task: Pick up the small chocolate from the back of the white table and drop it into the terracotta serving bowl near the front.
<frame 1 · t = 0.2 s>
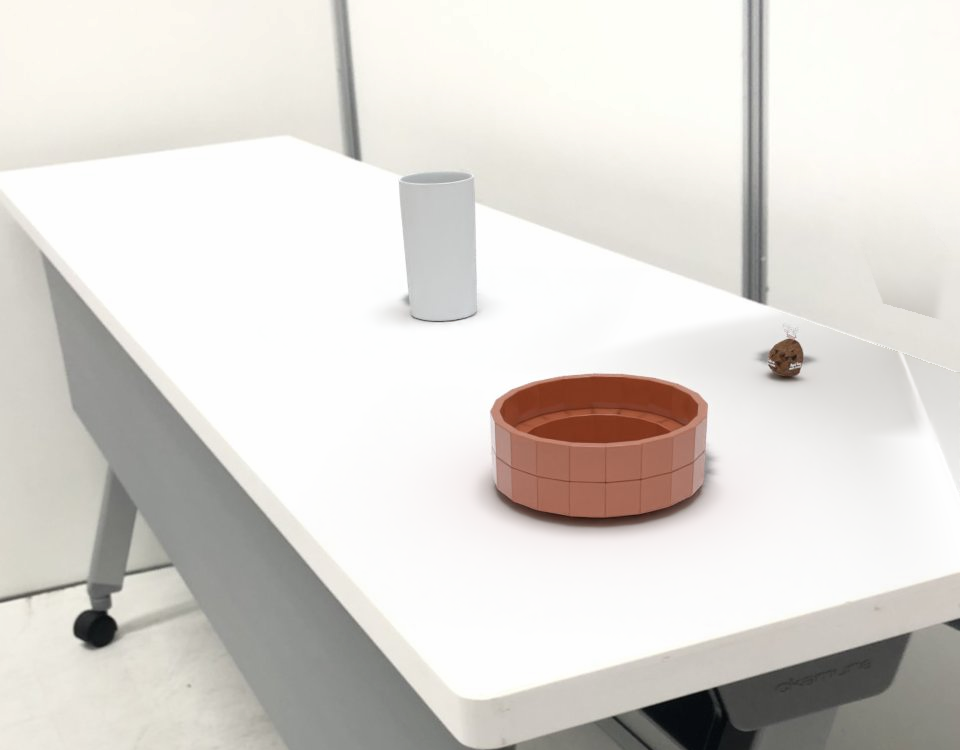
chocolate: (780, 378, 93), on the table
bowl: (597, 482, 77), on the table
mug: (449, 309, 115), on the table
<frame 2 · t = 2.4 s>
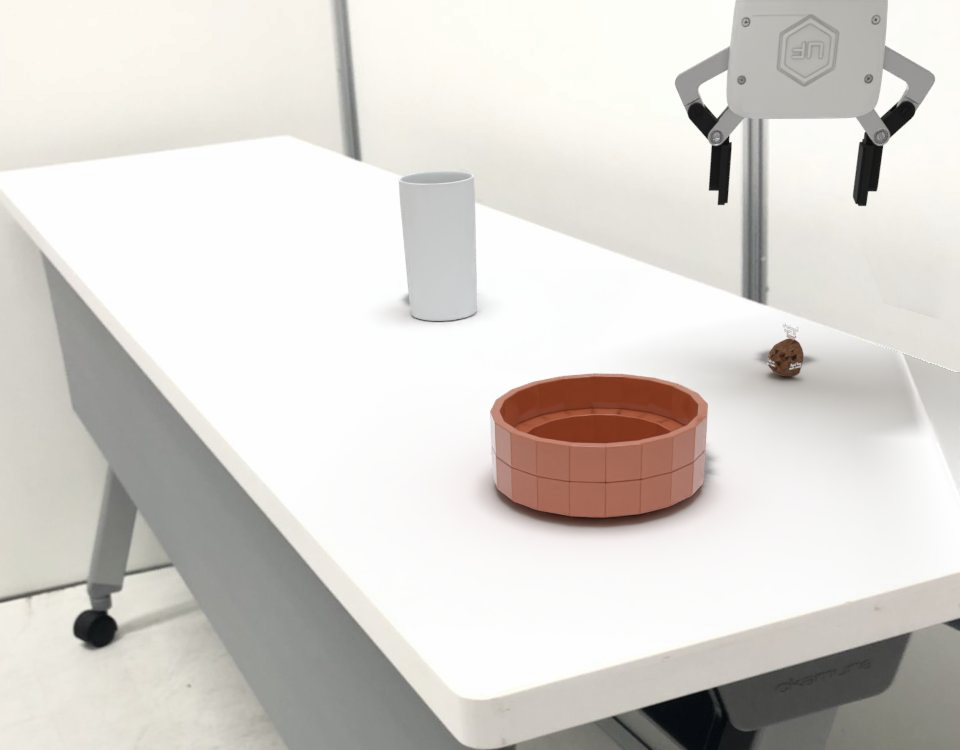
hand: (790, 201, 87), 13 cm above the table, tool pointing down, fingers open, 9 cm apart
nothing on the table moved.
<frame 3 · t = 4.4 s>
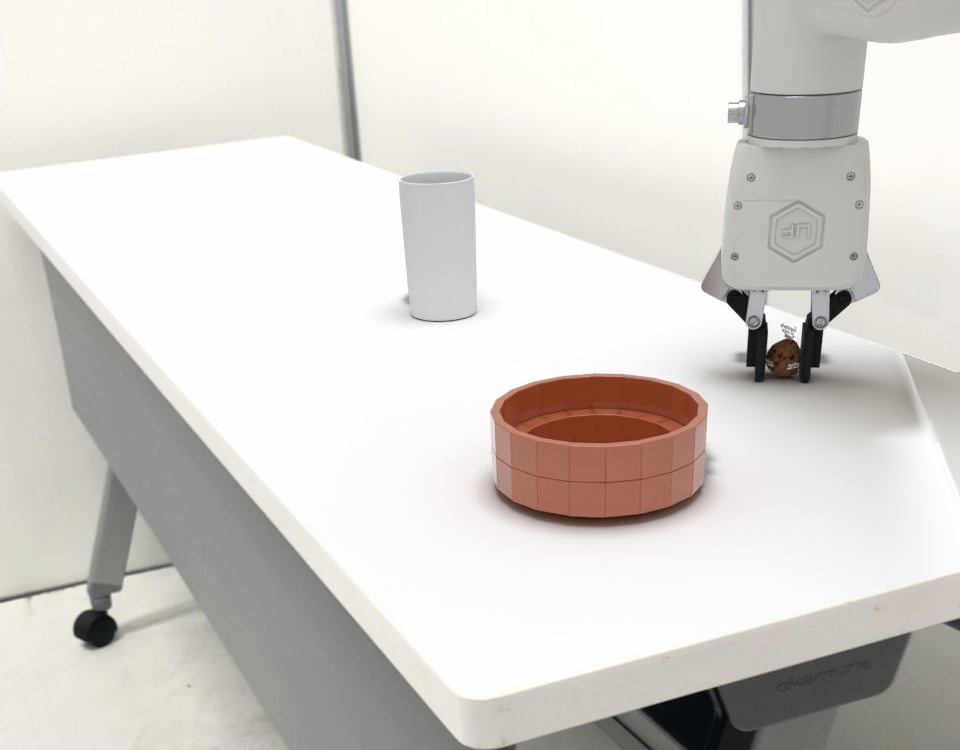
hand: (781, 374, 93), 0 cm above the table, tool pointing down, fingers closed on chocolate, 2 cm apart
chocolate: (778, 378, 93), on the table, touching gripper
everything else where it was.
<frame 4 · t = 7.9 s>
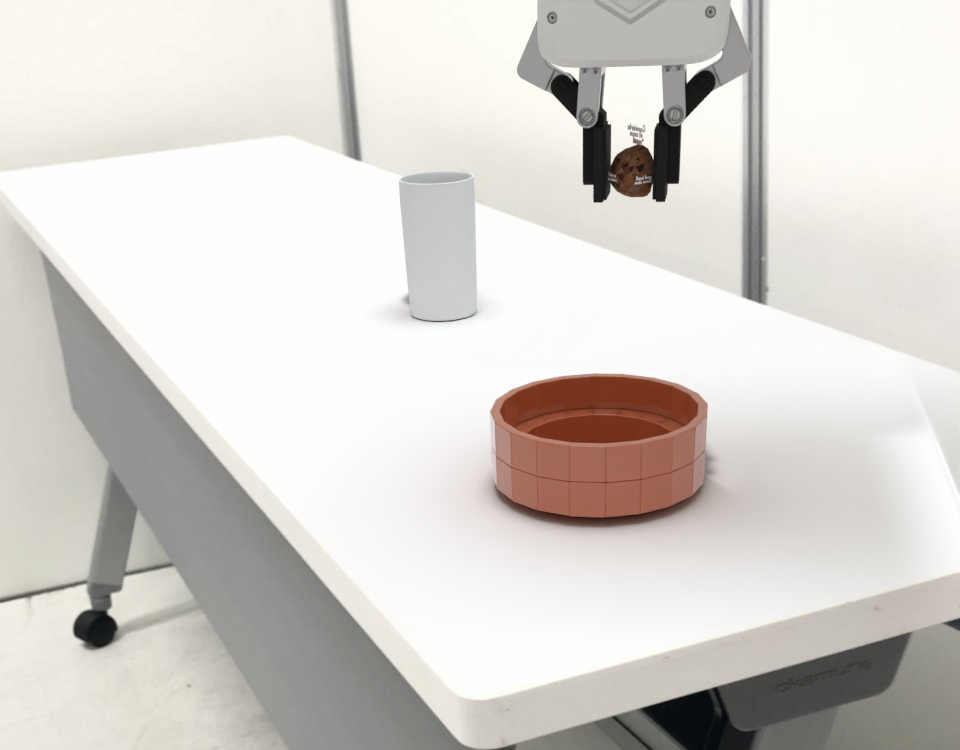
hand: (631, 195, 70), 17 cm above the table, tool pointing down, fingers closed on chocolate, 2 cm apart
chocolate: (627, 201, 71), point 17 cm above the table, touching gripper
everything else where it was.
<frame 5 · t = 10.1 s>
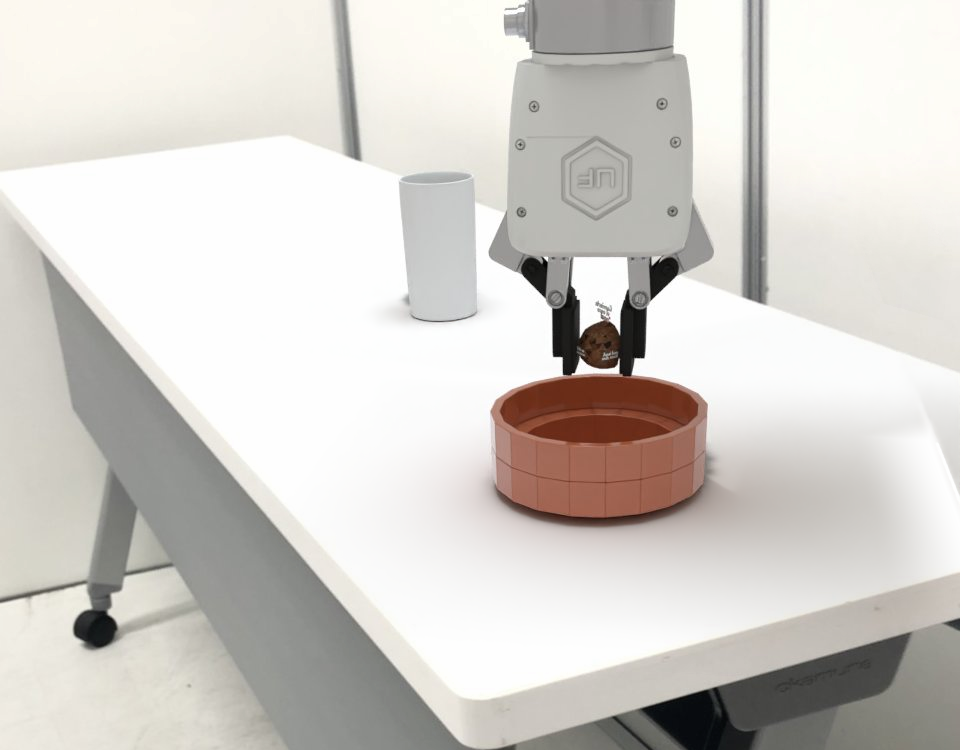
hand: (599, 366, 73), 8 cm above the table, tool pointing down, fingers closed on chocolate, 2 cm apart
chocolate: (595, 372, 73), point 7 cm above the table, touching gripper
everything else where it was.
when the fingers open (3 cm above the table, at t = 11.7 s): chocolate drops 2 cm, resting on bowl.
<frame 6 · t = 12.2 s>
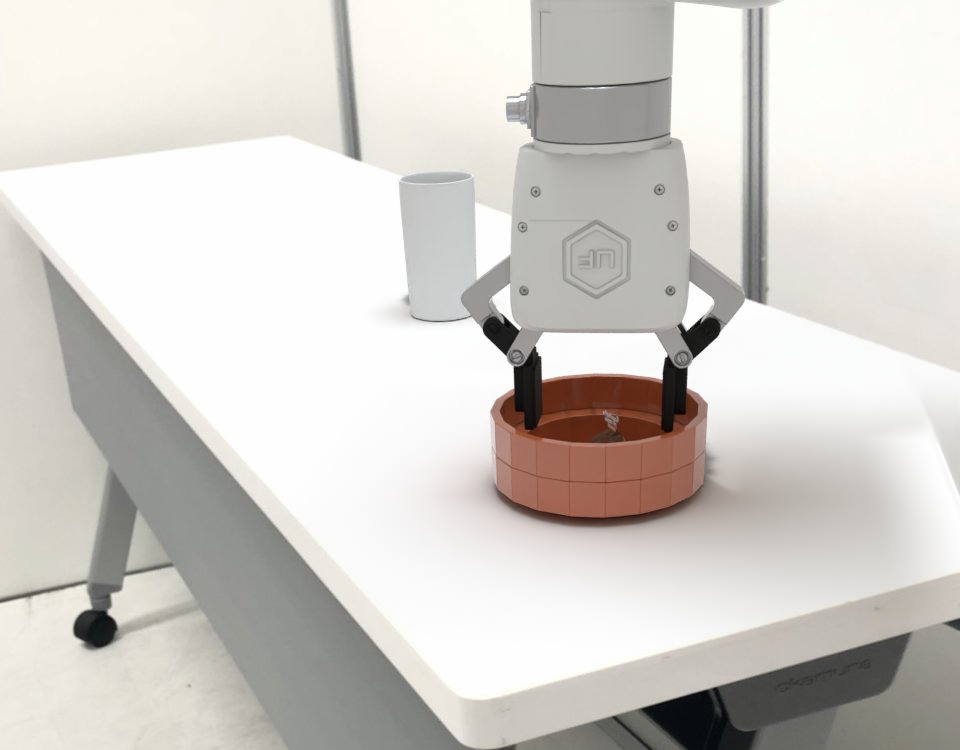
hand: (600, 422, 75), 4 cm above the table, tool pointing down, fingers open, 7 cm apart
chocolate: (602, 476, 77), resting on bowl
everything else where it was.
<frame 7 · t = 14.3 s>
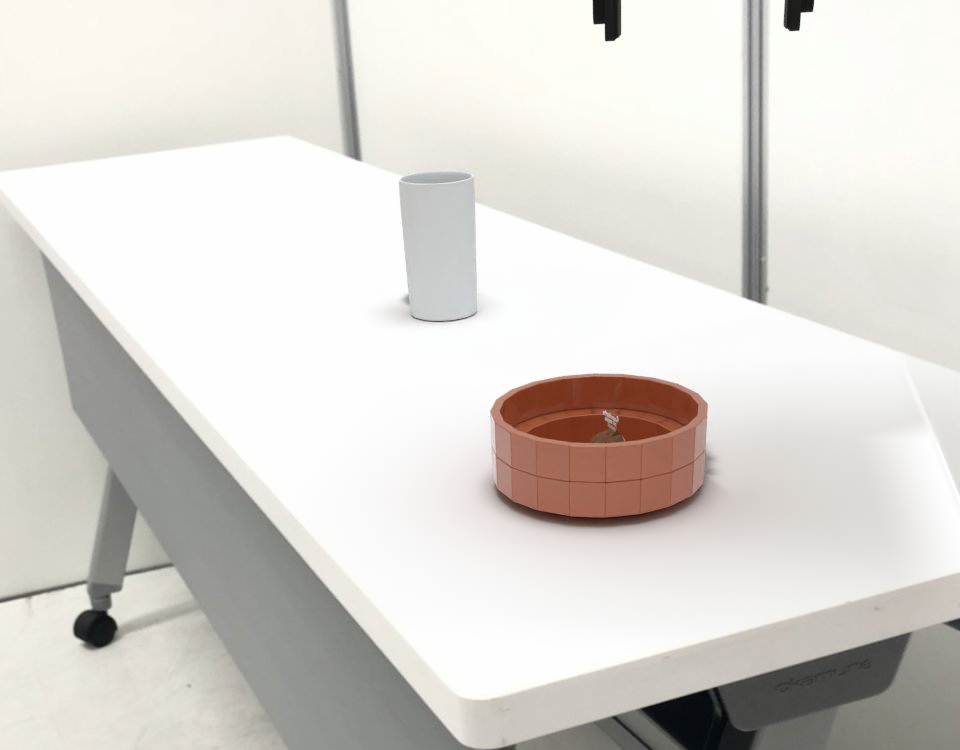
hand: (701, 34, 66), 25 cm above the table, tool pointing down, fingers open, 9 cm apart
nothing on the table moved.
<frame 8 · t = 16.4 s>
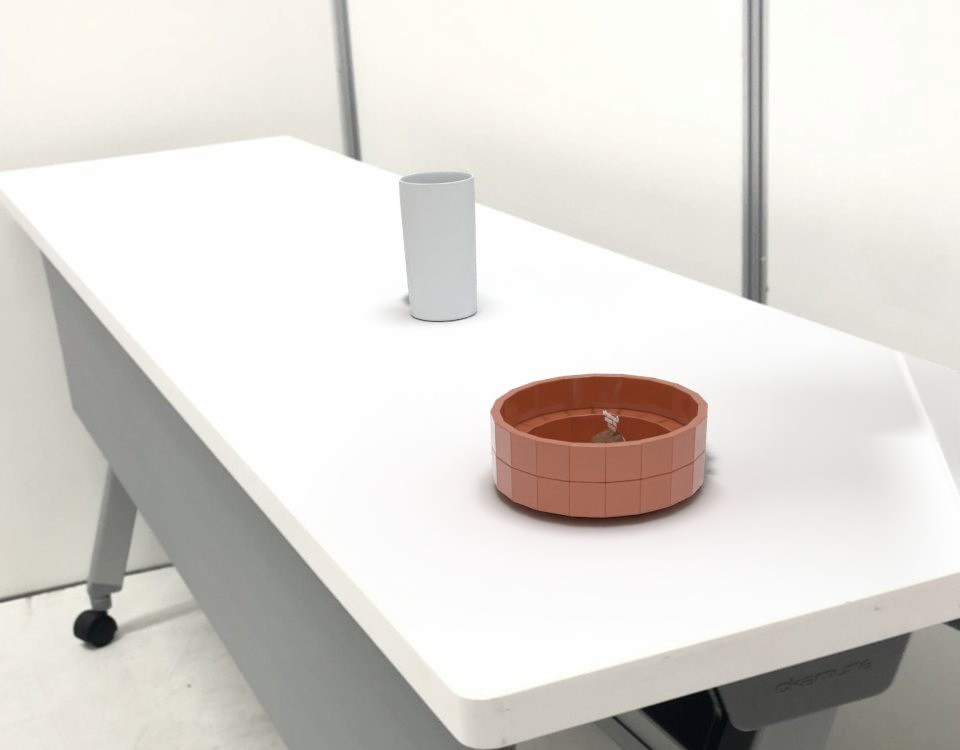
nothing on the table moved.
at the end: chocolate inside the target area in the bowl (0.3 cm from its centre), point 0.4 cm above the bowl's base; the gripper is holding nothing; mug moved 0.2 cm from its start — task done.
